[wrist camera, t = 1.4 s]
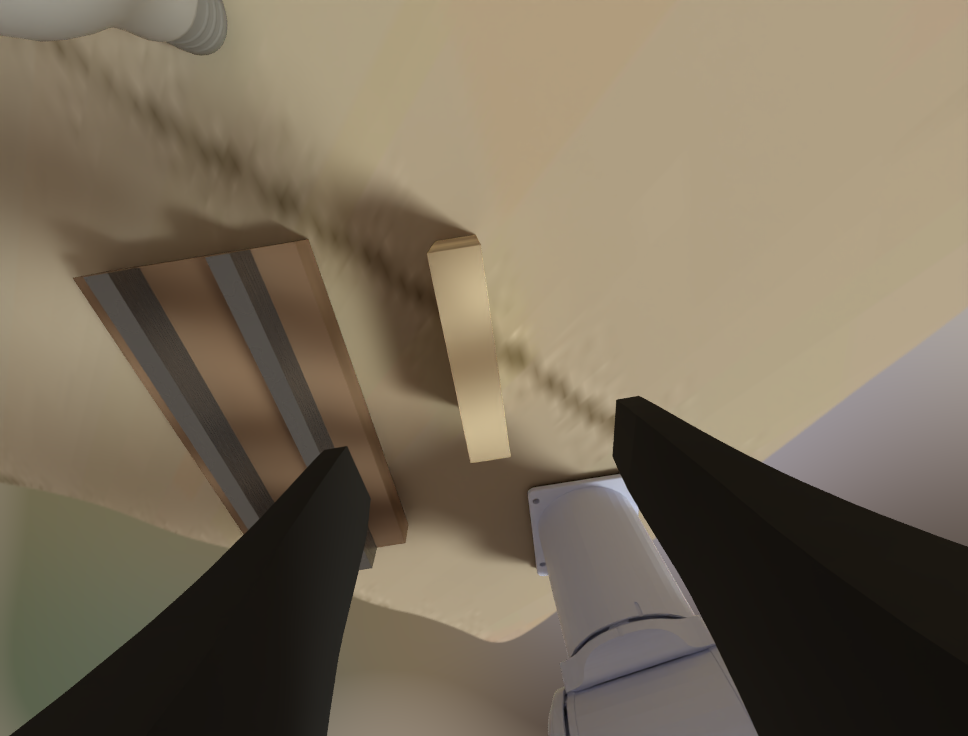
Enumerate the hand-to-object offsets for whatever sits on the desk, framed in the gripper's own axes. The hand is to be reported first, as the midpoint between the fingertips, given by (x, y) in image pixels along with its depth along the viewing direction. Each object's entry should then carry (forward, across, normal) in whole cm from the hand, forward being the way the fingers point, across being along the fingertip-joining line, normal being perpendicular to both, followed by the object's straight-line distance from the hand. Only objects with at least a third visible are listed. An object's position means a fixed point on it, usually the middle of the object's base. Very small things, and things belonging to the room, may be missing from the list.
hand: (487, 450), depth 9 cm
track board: (+11, +12, +5) cm, 17 cm away
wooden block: (+11, 0, +1) cm, 11 cm away
